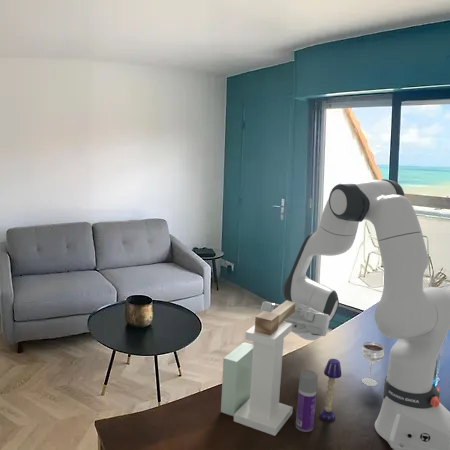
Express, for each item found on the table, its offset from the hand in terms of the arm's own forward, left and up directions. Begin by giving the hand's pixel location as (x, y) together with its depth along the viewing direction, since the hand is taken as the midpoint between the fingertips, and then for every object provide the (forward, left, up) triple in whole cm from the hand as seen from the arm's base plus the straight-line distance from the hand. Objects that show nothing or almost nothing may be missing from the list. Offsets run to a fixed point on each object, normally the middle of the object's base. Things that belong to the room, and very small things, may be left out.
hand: (287, 310), depth 145 cm
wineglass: (-20, -24, -27) cm, 41 cm away
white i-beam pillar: (0, +12, -27) cm, 30 cm away
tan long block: (0, +7, -1) cm, 7 cm away
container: (-11, +10, -27) cm, 31 cm away
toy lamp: (-15, +2, -27) cm, 31 cm away
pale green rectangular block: (+9, +10, -27) cm, 30 cm away
